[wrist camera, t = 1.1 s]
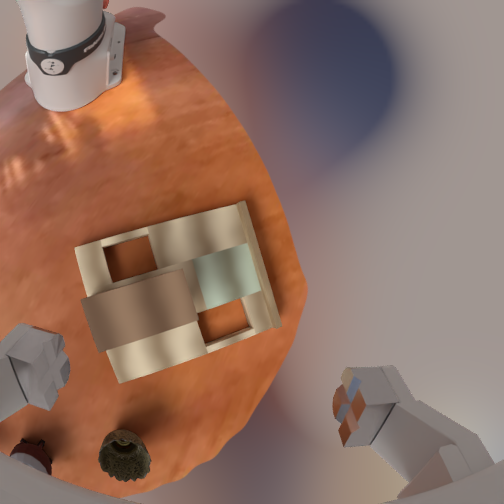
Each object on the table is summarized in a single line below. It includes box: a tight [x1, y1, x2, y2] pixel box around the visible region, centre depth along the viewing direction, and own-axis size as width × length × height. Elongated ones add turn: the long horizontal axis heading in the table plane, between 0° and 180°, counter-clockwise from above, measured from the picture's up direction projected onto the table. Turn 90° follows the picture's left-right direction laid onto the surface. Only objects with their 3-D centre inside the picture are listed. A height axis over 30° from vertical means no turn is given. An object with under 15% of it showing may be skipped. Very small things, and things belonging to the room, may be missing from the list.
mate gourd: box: [10, 439, 52, 475], centre depth 26 cm, size 8×8×15 cm
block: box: [81, 269, 199, 353], centre depth 36 cm, size 12×6×10 cm, turn 108°
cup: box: [98, 429, 151, 482], centre depth 35 cm, size 8×7×8 cm
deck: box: [75, 201, 282, 384], centre depth 44 cm, size 26×20×4 cm
